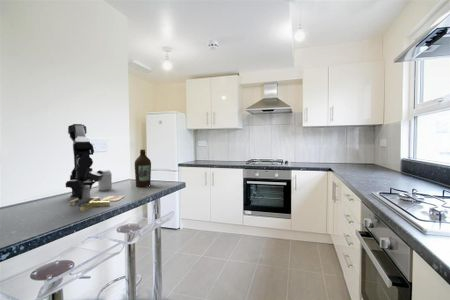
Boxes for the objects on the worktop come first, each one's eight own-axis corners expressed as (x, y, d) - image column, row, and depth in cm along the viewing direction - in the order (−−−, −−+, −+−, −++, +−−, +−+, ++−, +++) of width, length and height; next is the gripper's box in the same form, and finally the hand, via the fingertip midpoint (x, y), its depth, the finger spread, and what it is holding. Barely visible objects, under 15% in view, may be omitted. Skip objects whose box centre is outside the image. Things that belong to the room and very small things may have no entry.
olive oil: (133, 185, 154) (133, 149, 152) (149, 183, 159) (148, 149, 158) (136, 188, 145) (135, 150, 143) (153, 186, 150) (152, 149, 149)
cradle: (70, 205, 107) (69, 201, 107) (78, 201, 115) (78, 197, 115) (93, 204, 108) (93, 200, 108) (101, 200, 116) (101, 196, 115)
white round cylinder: (75, 205, 107) (75, 187, 106) (81, 202, 112) (81, 185, 111) (86, 205, 107) (86, 187, 107) (92, 202, 112) (91, 184, 112)
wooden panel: (99, 201, 114) (99, 200, 114) (107, 196, 123) (107, 196, 123) (117, 201, 115) (117, 200, 115) (124, 196, 124) (124, 195, 124)
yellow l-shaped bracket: (79, 211, 98) (79, 205, 98) (89, 205, 107) (89, 199, 107) (101, 210, 99) (101, 204, 99) (109, 205, 108) (109, 199, 108)
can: (96, 191, 137) (96, 171, 136) (100, 188, 144) (99, 170, 143) (110, 190, 139) (109, 171, 138) (113, 188, 146) (112, 169, 145)
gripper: (90, 168, 100) (91, 203, 101) (108, 164, 119) (109, 193, 119) (64, 169, 99) (65, 203, 100) (86, 164, 118) (87, 193, 118)
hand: (84, 197), depth 109 cm, fingers open, 6 cm apart
